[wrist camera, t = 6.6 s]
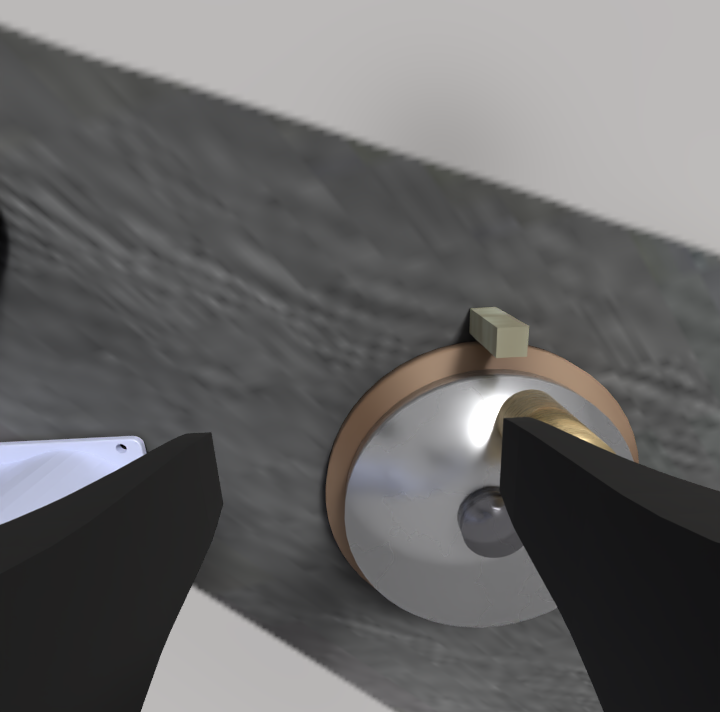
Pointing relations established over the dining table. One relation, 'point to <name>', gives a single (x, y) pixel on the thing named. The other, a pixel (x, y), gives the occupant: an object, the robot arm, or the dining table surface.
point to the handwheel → (456, 496)
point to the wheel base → (491, 351)
